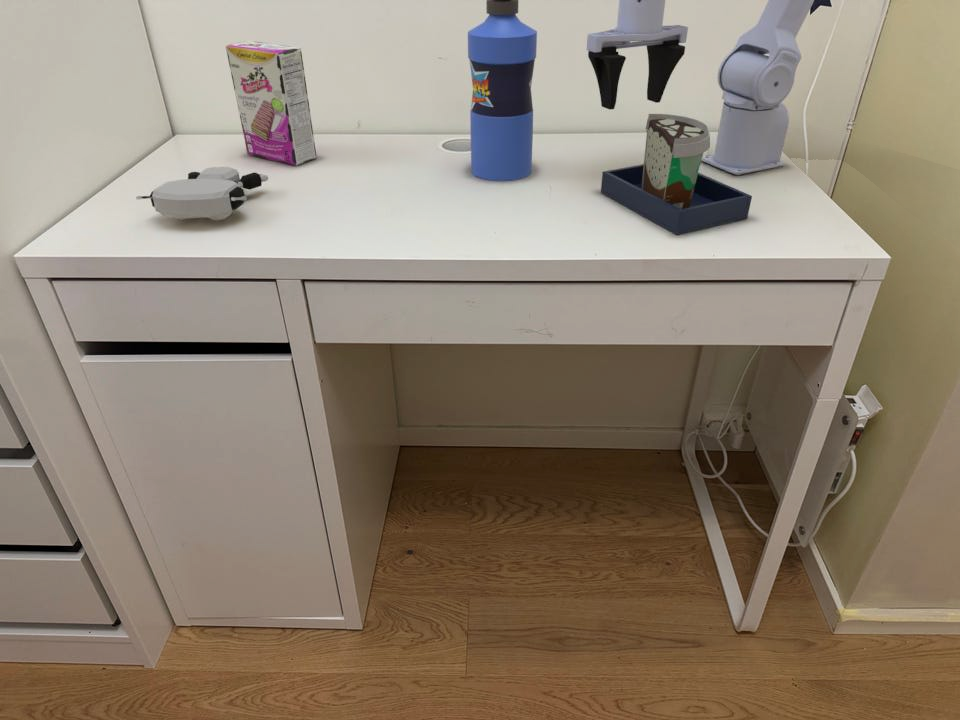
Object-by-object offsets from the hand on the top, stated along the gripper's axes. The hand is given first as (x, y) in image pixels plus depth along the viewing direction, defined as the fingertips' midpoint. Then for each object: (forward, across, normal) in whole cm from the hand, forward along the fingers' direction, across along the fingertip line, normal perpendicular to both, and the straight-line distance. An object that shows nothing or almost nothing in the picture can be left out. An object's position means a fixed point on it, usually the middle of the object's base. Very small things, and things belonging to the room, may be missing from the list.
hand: (631, 104), depth 94 cm
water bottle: (+11, +14, -11) cm, 21 cm away
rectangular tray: (+10, +1, +11) cm, 15 cm away
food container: (+10, +1, +12) cm, 16 cm away
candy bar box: (+11, +42, -34) cm, 55 cm away
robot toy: (+10, +55, -16) cm, 58 cm away
